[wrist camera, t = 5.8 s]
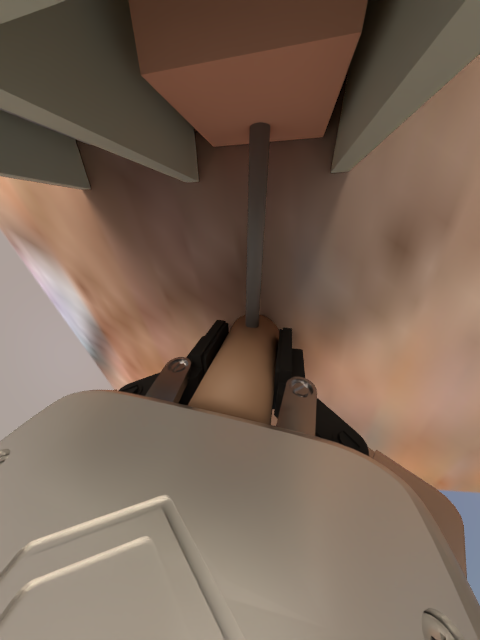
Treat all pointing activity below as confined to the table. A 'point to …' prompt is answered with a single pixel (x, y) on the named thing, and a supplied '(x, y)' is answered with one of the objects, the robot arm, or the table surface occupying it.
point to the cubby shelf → (161, 117)
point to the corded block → (248, 129)
